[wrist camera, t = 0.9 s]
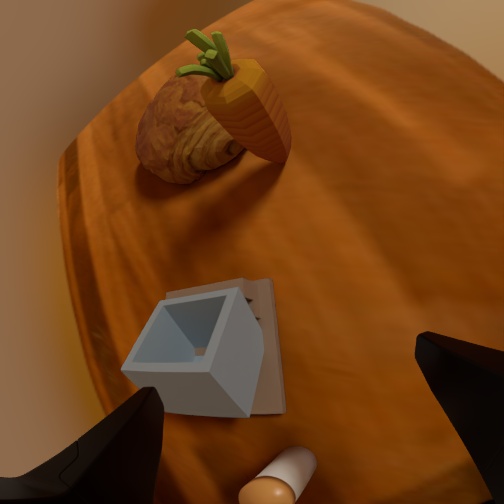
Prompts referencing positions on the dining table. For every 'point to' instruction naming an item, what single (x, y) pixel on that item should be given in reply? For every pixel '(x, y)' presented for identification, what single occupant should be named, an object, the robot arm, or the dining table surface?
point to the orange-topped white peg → (281, 478)
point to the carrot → (240, 98)
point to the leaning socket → (213, 351)
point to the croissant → (182, 134)
